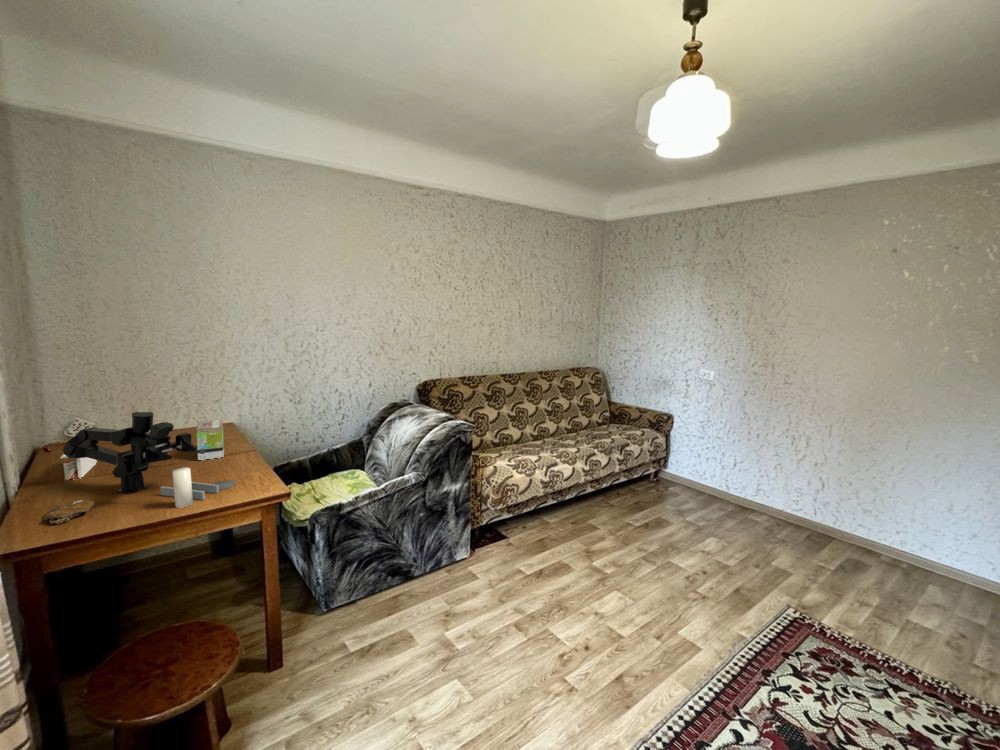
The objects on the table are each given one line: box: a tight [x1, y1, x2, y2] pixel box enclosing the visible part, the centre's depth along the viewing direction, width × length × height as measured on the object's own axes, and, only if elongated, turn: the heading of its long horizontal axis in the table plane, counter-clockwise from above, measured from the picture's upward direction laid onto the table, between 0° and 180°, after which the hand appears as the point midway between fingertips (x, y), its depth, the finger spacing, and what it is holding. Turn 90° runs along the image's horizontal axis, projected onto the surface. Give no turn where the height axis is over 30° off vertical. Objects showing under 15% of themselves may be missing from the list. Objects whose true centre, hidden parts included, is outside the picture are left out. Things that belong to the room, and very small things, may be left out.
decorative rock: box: [43, 499, 96, 525], centre depth 142 cm, size 11×4×15 cm
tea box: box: [195, 419, 225, 461], centre depth 202 cm, size 15×10×15 cm
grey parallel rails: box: [159, 481, 220, 501], centre depth 160 cm, size 18×7×3 cm, turn 79°
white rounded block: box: [171, 467, 194, 509], centre depth 151 cm, size 5×5×12 cm
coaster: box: [211, 479, 237, 491], centre depth 168 cm, size 9×9×1 cm
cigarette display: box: [60, 453, 98, 481], centre depth 178 cm, size 20×6×9 cm, turn 29°
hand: (183, 453), depth 155 cm, fingers open, 9 cm apart
